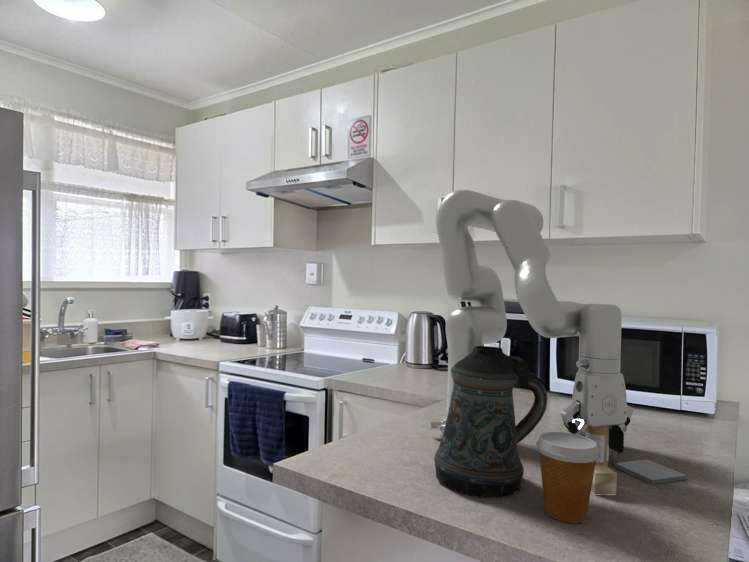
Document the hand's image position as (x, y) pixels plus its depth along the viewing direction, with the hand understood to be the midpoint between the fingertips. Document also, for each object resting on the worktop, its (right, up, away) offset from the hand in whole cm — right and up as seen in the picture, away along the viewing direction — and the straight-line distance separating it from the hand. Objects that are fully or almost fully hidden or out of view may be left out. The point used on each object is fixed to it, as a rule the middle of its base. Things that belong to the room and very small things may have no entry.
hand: (596, 452), depth 95 cm
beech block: (-3, -4, -7) cm, 9 cm away
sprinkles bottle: (0, -5, 0) cm, 5 cm away
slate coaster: (+12, -5, +2) cm, 13 cm away
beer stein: (-23, -4, -4) cm, 24 cm away
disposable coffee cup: (-13, -4, -17) cm, 22 cm away
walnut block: (+5, -5, +8) cm, 11 cm away
